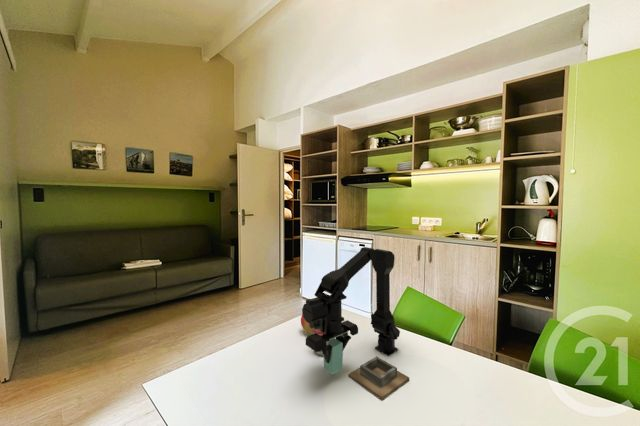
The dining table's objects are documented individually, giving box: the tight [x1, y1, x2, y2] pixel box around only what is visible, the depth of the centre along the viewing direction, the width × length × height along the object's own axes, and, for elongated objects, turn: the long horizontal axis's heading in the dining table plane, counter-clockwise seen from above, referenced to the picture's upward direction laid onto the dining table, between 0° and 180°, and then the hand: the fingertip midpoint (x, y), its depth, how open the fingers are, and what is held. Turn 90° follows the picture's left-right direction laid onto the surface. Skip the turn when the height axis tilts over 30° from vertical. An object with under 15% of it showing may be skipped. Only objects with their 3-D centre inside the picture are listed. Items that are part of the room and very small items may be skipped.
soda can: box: [313, 328, 324, 357], centre depth 107 cm, size 7×7×13 cm
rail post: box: [323, 338, 344, 375], centre depth 91 cm, size 4×4×9 cm
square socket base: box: [347, 356, 410, 401], centre depth 91 cm, size 14×14×4 cm
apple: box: [300, 313, 313, 335], centre depth 122 cm, size 10×10×10 cm
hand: (333, 359), depth 91 cm, fingers closed on rail post, 4 cm apart
